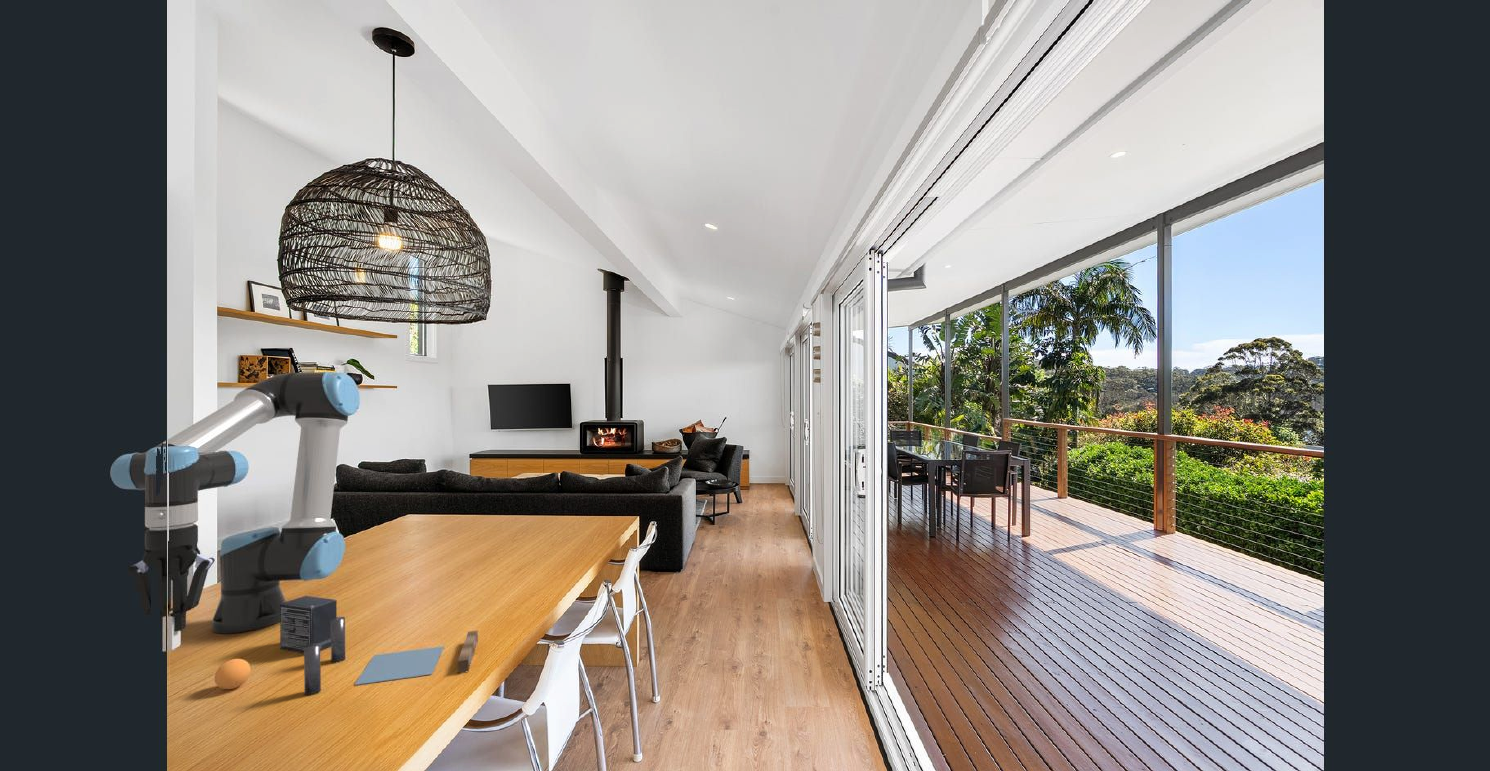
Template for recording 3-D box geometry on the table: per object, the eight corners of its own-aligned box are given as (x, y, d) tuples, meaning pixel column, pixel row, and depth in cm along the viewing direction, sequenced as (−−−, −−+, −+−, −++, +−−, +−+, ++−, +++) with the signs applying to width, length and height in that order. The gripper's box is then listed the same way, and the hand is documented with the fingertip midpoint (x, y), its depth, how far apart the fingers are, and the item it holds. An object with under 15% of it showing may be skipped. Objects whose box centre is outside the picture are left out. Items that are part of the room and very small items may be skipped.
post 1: (307, 689, 119) (307, 644, 119) (322, 687, 120) (322, 642, 120) (302, 696, 117) (301, 649, 117) (318, 694, 118) (317, 647, 118)
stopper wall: (468, 642, 141) (468, 631, 141) (477, 641, 141) (477, 630, 141) (457, 673, 126) (457, 661, 126) (468, 671, 126) (468, 659, 126)
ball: (223, 683, 122) (223, 656, 122) (256, 679, 124) (255, 652, 124) (208, 696, 117) (208, 668, 117) (242, 691, 119) (242, 663, 119)
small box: (339, 643, 141) (338, 598, 141) (311, 655, 135) (310, 608, 135) (307, 637, 145) (306, 594, 145) (278, 649, 139) (278, 603, 139)
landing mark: (374, 655, 134) (374, 655, 134) (444, 647, 138) (444, 646, 138) (354, 685, 121) (354, 684, 121) (432, 674, 125) (432, 673, 125)
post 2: (333, 658, 133) (333, 617, 133) (347, 656, 134) (346, 616, 134) (329, 663, 131) (328, 621, 131) (343, 661, 132) (342, 620, 132)
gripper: (116, 532, 112) (115, 660, 112) (202, 527, 116) (201, 651, 116) (142, 524, 119) (142, 645, 119) (222, 519, 123) (222, 636, 123)
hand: (171, 648), depth 117 cm, fingers closed
